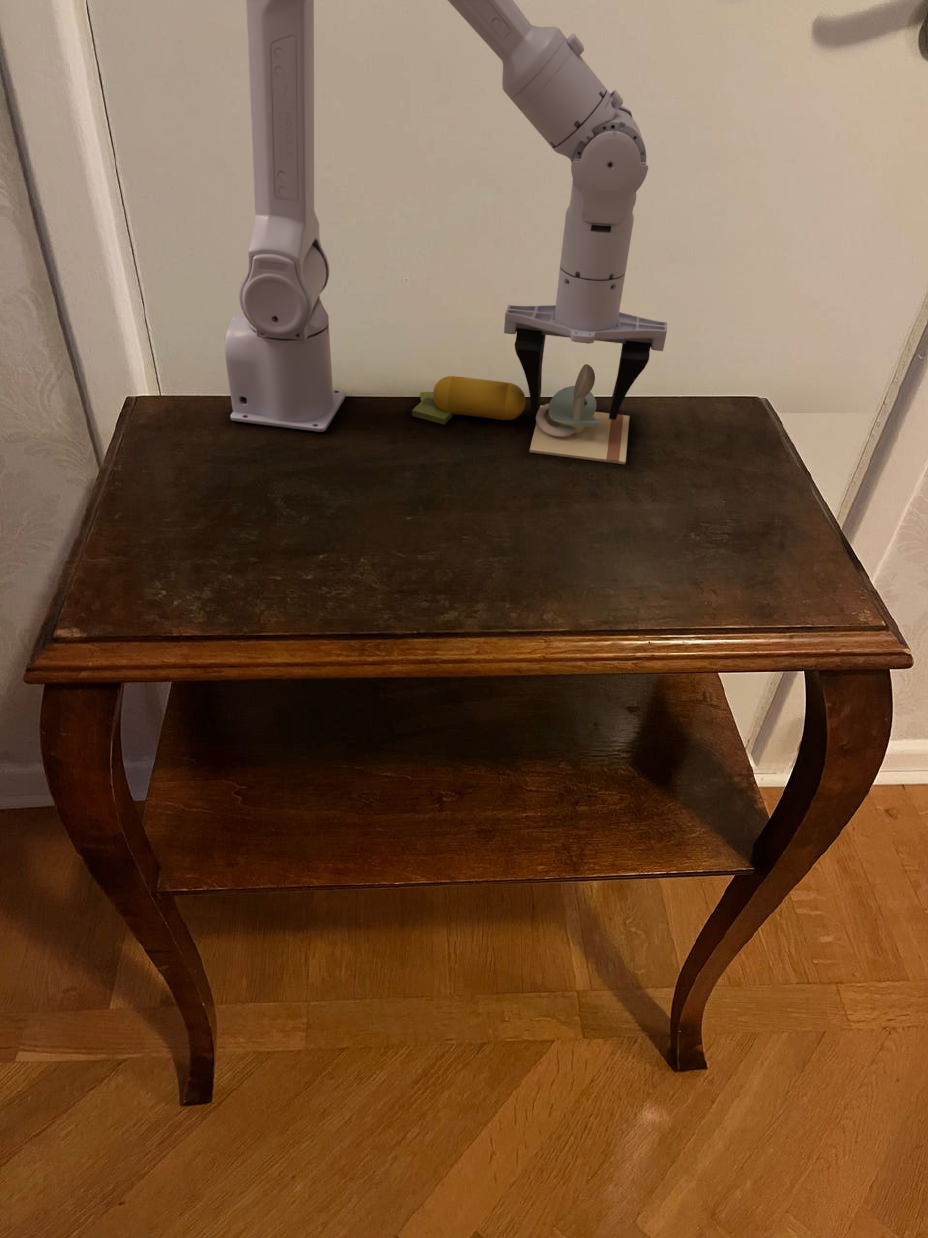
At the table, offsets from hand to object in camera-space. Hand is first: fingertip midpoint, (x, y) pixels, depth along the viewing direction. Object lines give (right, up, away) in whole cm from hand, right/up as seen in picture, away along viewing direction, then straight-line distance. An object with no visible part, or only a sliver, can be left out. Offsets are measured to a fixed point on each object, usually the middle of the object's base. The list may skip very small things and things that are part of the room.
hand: (573, 409), depth 88 cm
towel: (+1, -2, 0) cm, 2 cm away
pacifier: (-1, -1, +1) cm, 2 cm away
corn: (-10, 0, +3) cm, 10 cm away
